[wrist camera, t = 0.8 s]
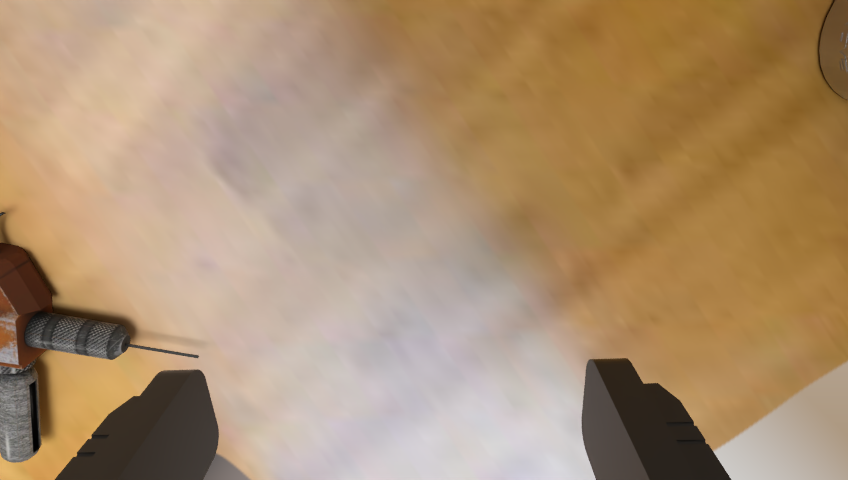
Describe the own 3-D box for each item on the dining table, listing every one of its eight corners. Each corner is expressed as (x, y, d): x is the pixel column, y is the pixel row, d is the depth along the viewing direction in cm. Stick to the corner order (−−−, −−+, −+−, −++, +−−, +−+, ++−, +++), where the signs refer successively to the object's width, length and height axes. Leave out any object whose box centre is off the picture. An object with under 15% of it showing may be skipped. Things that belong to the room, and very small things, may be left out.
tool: (-284, 35, 29) (-183, 450, 39) (202, 133, 31) (179, 502, 41) (-203, 36, 33) (-130, 415, 43) (225, 124, 35) (199, 464, 45)
